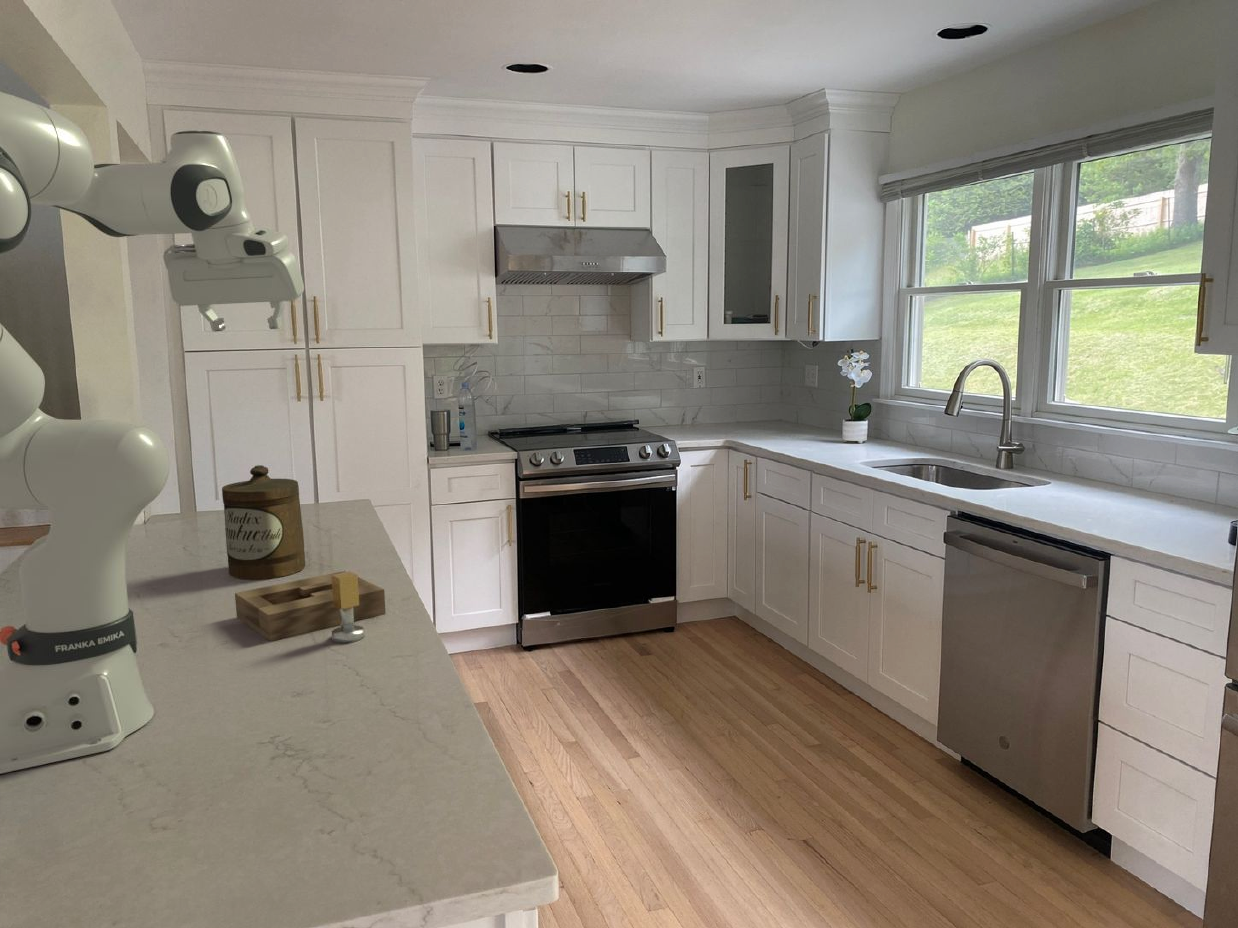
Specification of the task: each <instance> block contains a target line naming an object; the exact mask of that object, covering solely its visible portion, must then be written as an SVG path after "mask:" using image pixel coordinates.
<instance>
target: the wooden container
mask: <svg viewBox="0 0 1238 928" xmlns="http://www.w3.org/2000/svg"><path fill="white" fill-rule="evenodd" d="M249 473H250V475H252V476H251V478H250V479H249V480H244V481H238V482H233V483H230V484H226V485H224V486H222V487H221V495H222V497H221V498H222V502H223V511H224V526H225V528H224V529H225V530H224V531H225V545H226V555H227V565H228V574H229V576H230V577H232V578H235V579H239V580H245V579H246V580H249V581H250V580H251V581H254V580H255V581H256V580H257V581H258V580H271V579H274V578H275V579H276V578H281V577H282V578H283V577H286V576H291V575H293V574H296V573H298V572H301V571H302V570H303V569H305V567H306V553H305V539H304V538H305V537H304V527H303V520H302V511H301V502H300V501H301V500H300V489H299V487H300V486H299V482H298V481H297V480H295V479H291V478H271V477H270V476H269V475H268V474H269V469H268V467H266V466H265V465H254V467H252V468H250V470H249Z"/></svg>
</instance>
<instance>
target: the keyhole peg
mask: <svg viewBox="0 0 1238 928" xmlns="http://www.w3.org/2000/svg"><path fill="white" fill-rule="evenodd" d="M358 577H359V576H358V574H356V573H355V572H351V571H349V570H348V571H346V572H343V573H338V574H333V575H332V590H333V605H335V606H336V607H338V608H340V616H341V624H340V627H336V628H334V629H333V630H332V631H331V639H332V642H333V643H337V644H352V643H355V642H359V641H362V640H363V639H365V628H364V627H363V626H361V625H355V621H354V615H353V606H358V605H359V592H358Z"/></svg>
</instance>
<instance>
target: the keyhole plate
mask: <svg viewBox="0 0 1238 928" xmlns="http://www.w3.org/2000/svg"><path fill="white" fill-rule="evenodd" d="M343 572H347V571H346V570H344V571H338V572H332V573H329V574H323V575H319V576H318V575H317V576H313V577H307V578H303V579H298V580H294V581H288V582H283V583H277V584H274V585H273V584H272V585H268V586H263V587H259V588H253V589H248V590H243V591H238V592H235V593H234V599H235V601H234V602H235V613H236V618H237V619H238V618H239V620H240V621H241V622H242V623H243V624H245V623H246V624H245V625H247V626H248V627H250V628H251V629H252V628H253V629H252V630H254V631H255V632H257V633H258V634H259V635H261V636H262V637H263V638H265V639H266V640H267V641H269V642H273V641H277V640H282V639H286V638H290V637H294V636H298V635H302V634H306V633H311V632H314V631H318V630H323V629H328V628H332V627H336V626H341V616H340V608H338V607H336V606H335V605H333V590H332V575H333V574H338V573H343ZM358 592H359V605H358V606H353V615H354V622H356V621H361V620H364V619H368V618H374V617H377V616H381V615H385V614H386V613H387V612H386V596H385V588H383V587H380V586H378V585H377V584H374V583H372V582H370V581H367V580H365V579H363V578H361V577H359V576H358Z"/></svg>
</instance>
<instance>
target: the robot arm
mask: <svg viewBox="0 0 1238 928" xmlns="http://www.w3.org/2000/svg"><path fill="white" fill-rule="evenodd" d="M170 148H171V149H170V150H169V151H168V153H167V154H166V155H165V156H164V157H163V158H162V159H161V160H160V161H159V162H152V163H151V162H149V163H147V162H146V163H127V164H126V163H123V164H120V163H97V164H95V159H94V153H93V150H92V147H91V145H90V142H89V140H88V138H87V135H86V134H85V132H84V131H83V130H82V129H81V128H80V126H78V125H77V124H76V123H74V122H73V121H71V120H70V119H68V118H67V117H65V116H63V115H62V114H60V113H59V112H56V111H54V110H52V109H50V108H47V107H46V106H43V105H41V104H38V103H36V102H32V101H30V100H27V99H25V98H21V97H19V96H16V95H13V94H9V93H5V92H3V91H0V255H1V254H5V253H7V252H9V251H12V250H13V249H15V248H17V247H18V246H20V245H21V243H22V242H23V240H24V239H25V237H26V236H27V233H28V229H29V226H30V224H31V223H30V222H31V220H32V219H31V218H32V204H33V205H38V206H39V205H40V206H49V207H54V208H57V209H61V210H64V211H66V212H70V213H72V214H75V215H78V216H79V217H81V218H83V219H84V220H85V221H86V222H88V223H89V224H90V225H92V226H93V227H95V228H96V229H97V230H98V231H100V232H102V233H103V234H105V235H107V236H110V237H113V238H124V237H135V236H140V235H141V236H142V235H174V234H175V235H176V234H190V235H191V238H192V241H193V243H188V244H182V245H180V244H172V245H170V246H169V247H168V248H166V249H165V251H164V253H163V255H162V256H163V257H162V258H163V261H164V265H165V268H166V270H167V276H168V283H169V284H168V285H169V289H170V295H171V298H172V300H173V302H175V304H177V305H178V306H180V307H185V306H186V307H188V306H197V308H198V311H199V313H200V314H201V315H202V316H203V317H204V318H205V320H207V321H208V323H209V325H210V329H211V331H212V332H223V331H225V330H226V324H225V320H224V317H218V315H217V314H216V313H215V312H214V310H213V308H214V305H228V304H229V305H231V304H248V303H249V304H250V303H251V304H252V303H269V305H270V308H271V309H274V311H273V314H272V315H271V316H269V317H268V318H267V319H266V320H267V324H269V325H268V327H269V329H270V330H277V329H278V330H279V329H281V328H283V322H282V317H281V316H282V313H283V310H284V308H285V305H286V304H285V302H292V301H296V300H297V299H298V298H300V297H301V296H302V295H303V293H304V291H305V284H304V280H303V276H302V273H301V270H300V266H299V264H298V262H297V258H296V257H295V255H294V254H293V252H291V250H288V249H286V248H287V247H288V246H289V238H288V236H287V235H286V234H285V233H283V232H281V231H276V230H271V229H268V228H264V227H262V226H261V227H260V226H257V225H254V224H253V221H252V217H251V215H250V212H249V211H248V209H247V206H246V204H245V187H244V183H243V180H242V179H243V178H242V175H241V173H240V168H239V166H238V163H237V159H236V157H235V153H234V151H233V149H232V146H231V144H230V142H229V141H228V138H226V136H225V135H223V134H221V133H219V132H216V131H210V130H183V131H182V130H181V131H177V132H175V133H173V134H171V135H170ZM45 379H46V378H45V375H44V372H43V370H42V368H41V367H40V366H39V364H38V363H36V361H35V360H34V358H32V357H31V356H30V354H29V353H28V352H27V351H26V350H25V349H24V347H22V346H21V344H20V343H19V342H18V341H17V340H16V339H15V337H13V335H12V334H11V333H10V332H9V330H7V329H6V328H5V326H4V325H2V323H1V322H0V508H2V509H7V510H31V511H32V510H33V511H34V510H35V511H50V519H51V520H50V527H49V531H48V535H47V538H46V540H45V541H44V542H43V543H41V544H39V545H38V546H36V547H35V548H34V549H32V550H31V551H30V552H28V553H27V555H26V556H25V557H24V558H23V560H22V561H21V563H20V566H19V570H18V576H19V584H20V592H21V599H22V608H23V609H22V610H23V616H24V617H23V618H24V624H23V625H21V627H19V628H18V629H17V628H15V626H13V625H7V626H4V627H1V629H0V643H2V645H4V646H6V650H7V654H8V655H7V656H8V658H9V659H8V660H7V661H6V662H5V663H4V664H3V665H2V666H0V774H6V773H10V772H14V771H19V770H23V769H28V768H32V767H38V766H43V765H46V764H50V763H55V762H61V761H65V760H69V759H74V758H79V757H84V756H88V755H94V754H97V753H102V752H107V751H110V750H112V749H113V748H115V747H117V746H118V745H119V744H120V743H121V742H122V741H123V740H124V739H125V737H127V736H129V735H130V734H132V733H134V732H135V731H137V730H139V729H140V728H142V727H143V726H144V725H146V724H147V723H148V722H150V721H151V719H152V718H153V716H154V714H155V709H154V707H153V705H152V703H151V701H150V699H149V697H148V695H147V691H146V689H145V686H144V682H143V680H142V677H141V674H140V673H141V672H140V669H139V665H138V661H137V657H136V653H137V649H138V647H137V646H138V634H137V625H136V618H135V617H134V611H133V610H131V608H130V607H129V599H128V584H127V583H128V582H127V571H126V570H127V568H126V567H127V564H126V562H127V561H126V555H127V547H128V541H129V538H130V534H131V532H132V529H133V526H134V524H135V522H136V521H137V518H138V517H139V516H140V514H141V513H142V511H143V510H144V509H145V508H146V507H147V506H148V505H149V504H151V503H152V502H153V501H154V500H155V499H157V497H158V496H159V495H160V493H161V492H162V490H164V488H165V486H166V483H167V480H168V478H169V473H170V459H169V458H170V457H169V455H168V454H169V453H168V451H167V449H166V446H165V444H164V443H163V441H162V439H161V438H160V436H158V435H157V433H156V432H154V431H153V430H152V429H150V428H147V427H143V426H140V425H136V424H133V423H132V424H131V423H127V422H123V421H122V422H121V421H117V420H112V419H63V418H56V417H53V416H51V415H49V414H46V413H45V412H44V411H42V410H41V409H40V408H39V407H40V405H41V403H42V402H43V398H44V394H45V387H46V380H45Z"/></svg>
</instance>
